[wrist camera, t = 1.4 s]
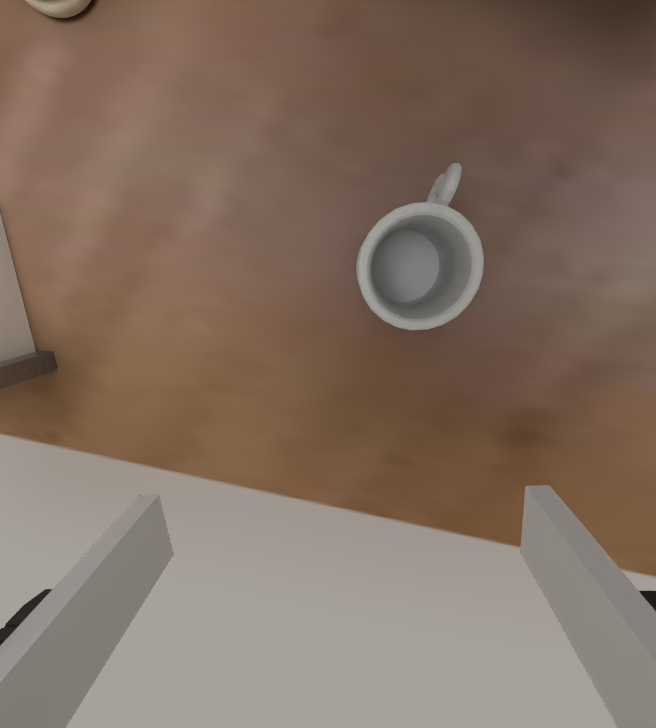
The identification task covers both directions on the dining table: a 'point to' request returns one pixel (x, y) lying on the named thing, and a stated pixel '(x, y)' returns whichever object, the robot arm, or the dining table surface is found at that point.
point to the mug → (422, 260)
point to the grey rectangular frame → (25, 367)
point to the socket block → (12, 308)
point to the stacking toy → (59, 7)
